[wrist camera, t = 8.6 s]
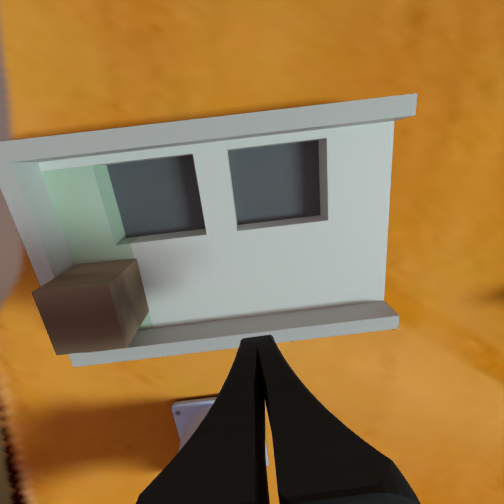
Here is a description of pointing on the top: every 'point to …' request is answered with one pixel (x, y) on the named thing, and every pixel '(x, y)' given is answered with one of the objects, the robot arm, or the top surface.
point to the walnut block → (93, 306)
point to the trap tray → (221, 220)
